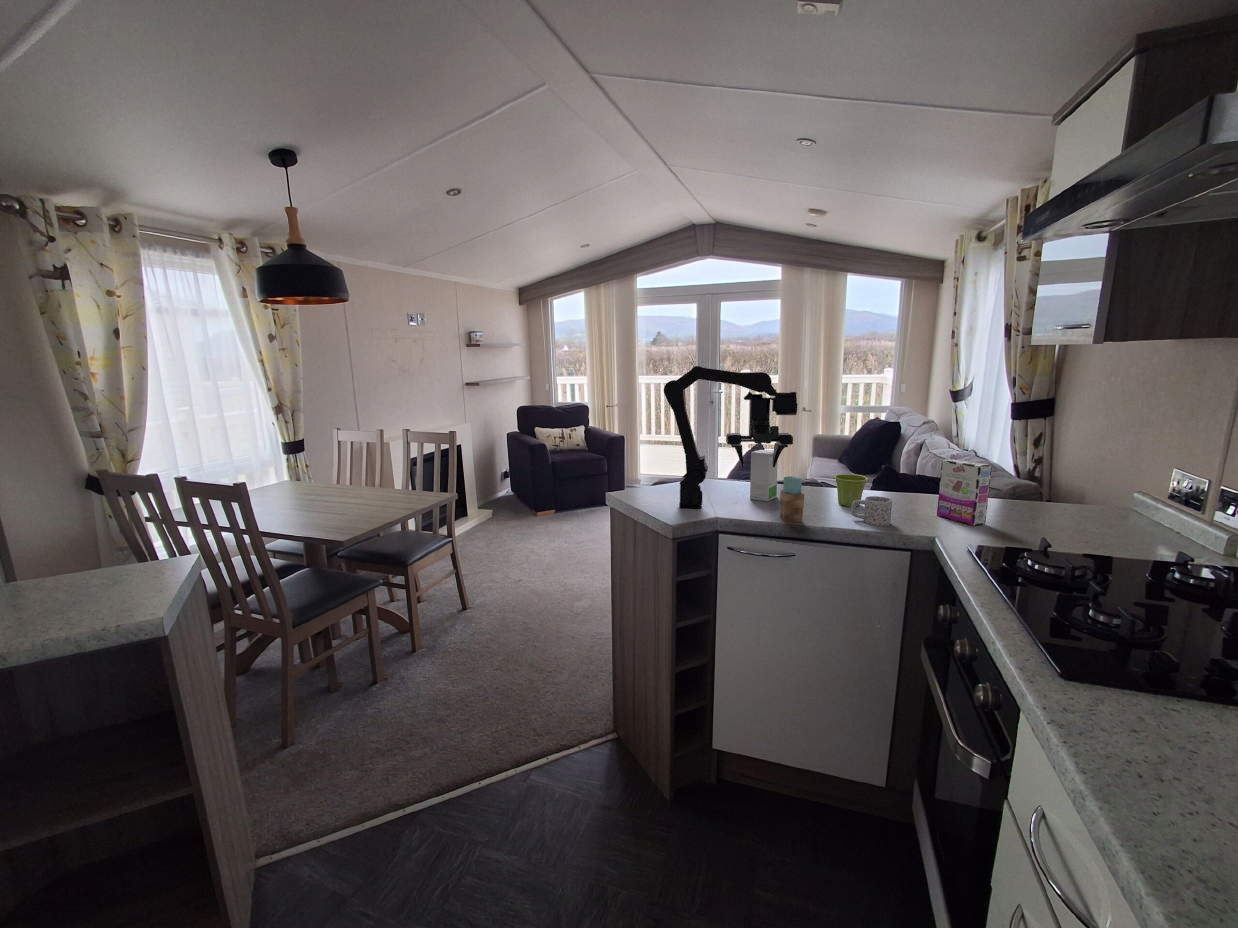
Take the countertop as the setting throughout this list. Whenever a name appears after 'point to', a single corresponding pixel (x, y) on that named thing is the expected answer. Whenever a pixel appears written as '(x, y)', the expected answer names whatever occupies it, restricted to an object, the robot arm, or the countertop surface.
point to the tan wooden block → (792, 500)
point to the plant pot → (849, 488)
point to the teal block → (792, 485)
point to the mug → (874, 510)
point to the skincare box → (763, 476)
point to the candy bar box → (964, 491)
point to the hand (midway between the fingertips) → (757, 467)
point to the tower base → (791, 514)
